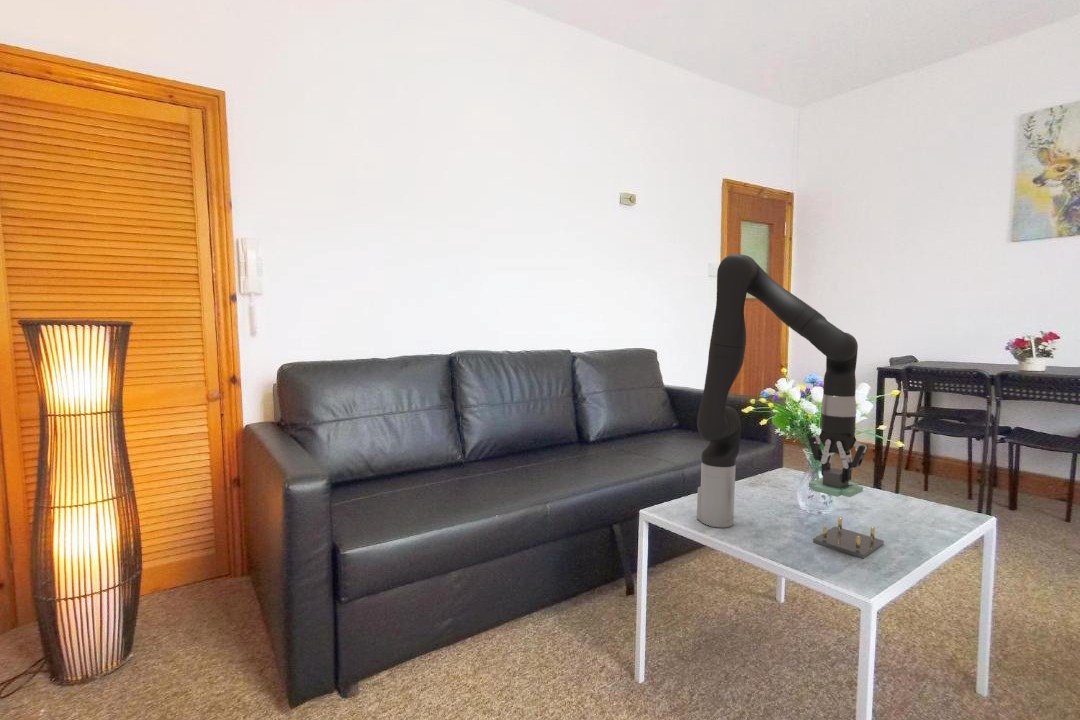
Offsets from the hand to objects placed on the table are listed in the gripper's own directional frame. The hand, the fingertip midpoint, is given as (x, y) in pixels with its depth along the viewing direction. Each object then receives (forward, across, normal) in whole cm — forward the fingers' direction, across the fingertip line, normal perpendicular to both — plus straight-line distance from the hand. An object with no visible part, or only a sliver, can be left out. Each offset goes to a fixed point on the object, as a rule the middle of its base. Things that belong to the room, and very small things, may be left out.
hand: (836, 479), depth 138 cm
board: (+2, 0, 0) cm, 2 cm away
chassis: (+18, +1, +6) cm, 19 cm away
